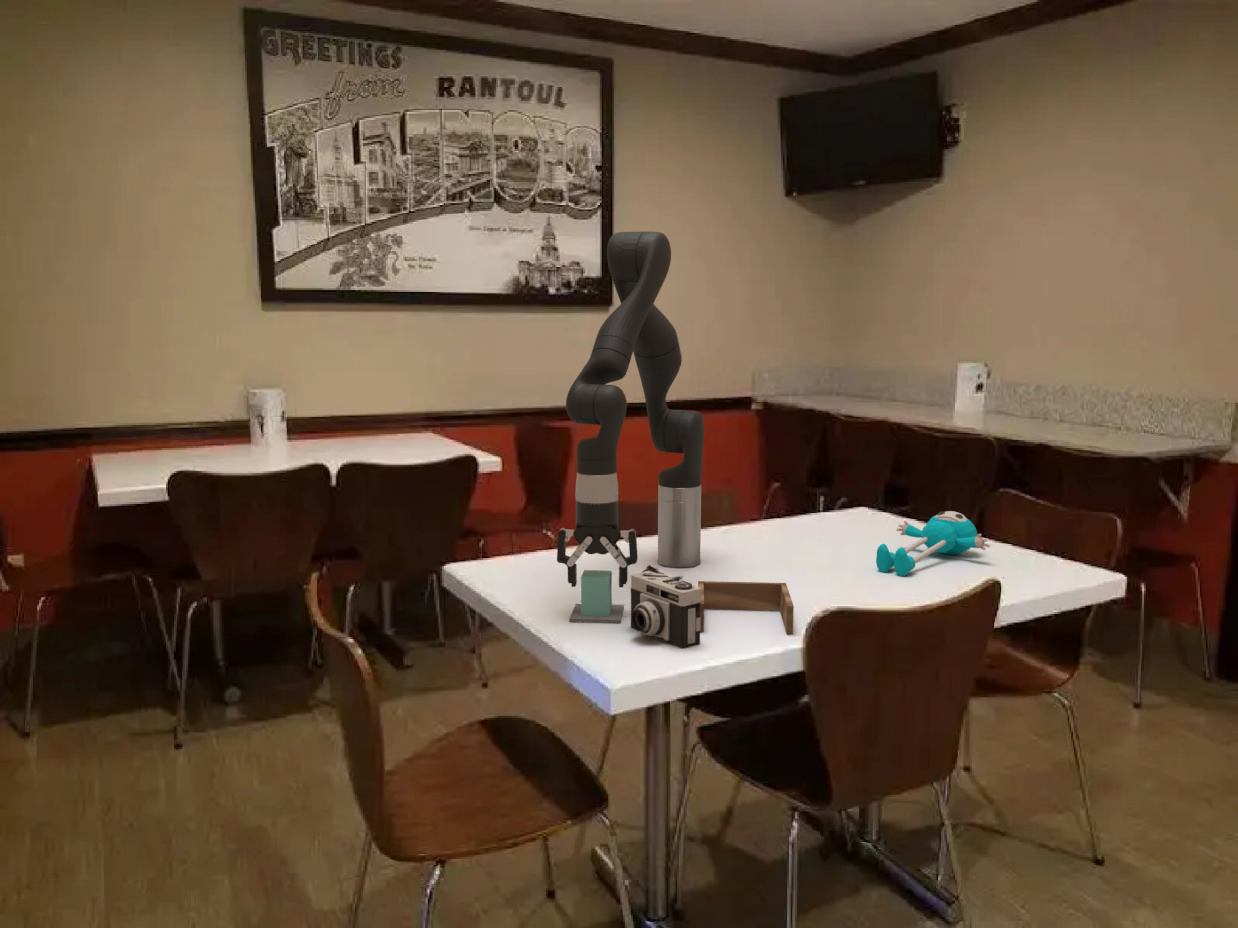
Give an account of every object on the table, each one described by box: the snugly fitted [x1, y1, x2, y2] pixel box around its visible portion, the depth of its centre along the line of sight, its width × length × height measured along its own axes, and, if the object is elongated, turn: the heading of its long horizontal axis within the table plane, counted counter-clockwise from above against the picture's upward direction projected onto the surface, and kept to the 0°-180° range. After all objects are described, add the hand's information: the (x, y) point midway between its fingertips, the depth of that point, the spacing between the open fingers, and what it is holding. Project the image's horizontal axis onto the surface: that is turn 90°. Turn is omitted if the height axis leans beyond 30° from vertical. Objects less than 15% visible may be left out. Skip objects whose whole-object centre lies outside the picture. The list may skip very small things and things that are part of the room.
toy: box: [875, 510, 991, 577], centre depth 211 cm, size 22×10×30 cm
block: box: [580, 569, 613, 616], centre depth 174 cm, size 5×5×7 cm
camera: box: [630, 571, 701, 650], centre depth 162 cm, size 14×8×10 cm, turn 37°
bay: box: [697, 580, 795, 635], centre depth 171 cm, size 14×16×5 cm
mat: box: [568, 603, 625, 624], centre depth 175 cm, size 9×9×1 cm
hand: (597, 586), depth 174 cm, fingers open, 8 cm apart
